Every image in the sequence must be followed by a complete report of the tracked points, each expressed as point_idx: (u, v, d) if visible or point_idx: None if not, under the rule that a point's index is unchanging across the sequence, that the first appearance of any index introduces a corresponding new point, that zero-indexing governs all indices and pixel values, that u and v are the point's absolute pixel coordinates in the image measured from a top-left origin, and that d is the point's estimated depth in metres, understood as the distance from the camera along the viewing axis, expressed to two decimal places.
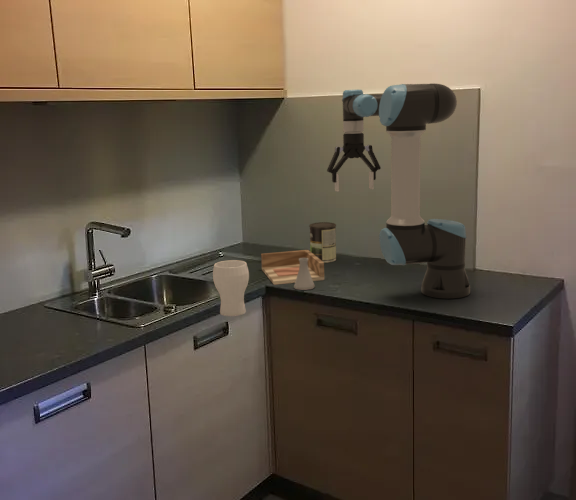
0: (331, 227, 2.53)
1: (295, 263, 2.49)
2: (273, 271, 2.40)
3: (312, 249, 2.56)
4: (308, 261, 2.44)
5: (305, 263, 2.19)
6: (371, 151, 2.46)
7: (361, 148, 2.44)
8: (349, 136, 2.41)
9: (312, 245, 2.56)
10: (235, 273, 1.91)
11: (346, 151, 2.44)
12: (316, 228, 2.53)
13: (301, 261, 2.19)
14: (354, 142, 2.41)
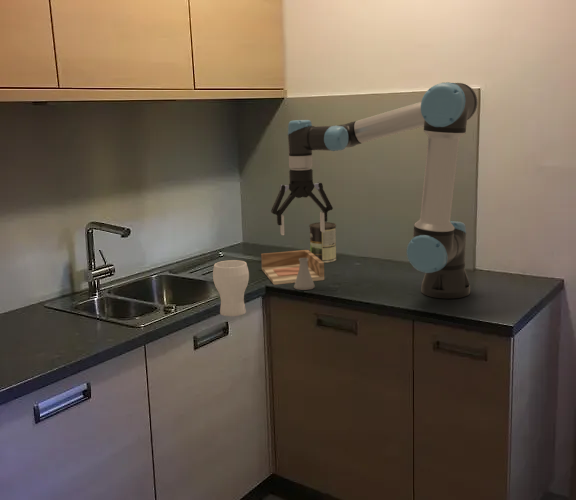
0: (331, 227, 2.53)
1: (295, 263, 2.49)
2: (273, 271, 2.40)
3: (312, 249, 2.56)
4: (308, 261, 2.44)
5: (305, 263, 2.19)
6: (321, 189, 2.15)
7: (310, 186, 2.14)
8: (295, 173, 2.10)
9: (312, 245, 2.56)
10: (235, 273, 1.91)
11: (292, 190, 2.13)
12: (316, 228, 2.53)
13: (301, 261, 2.19)
14: (301, 180, 2.11)
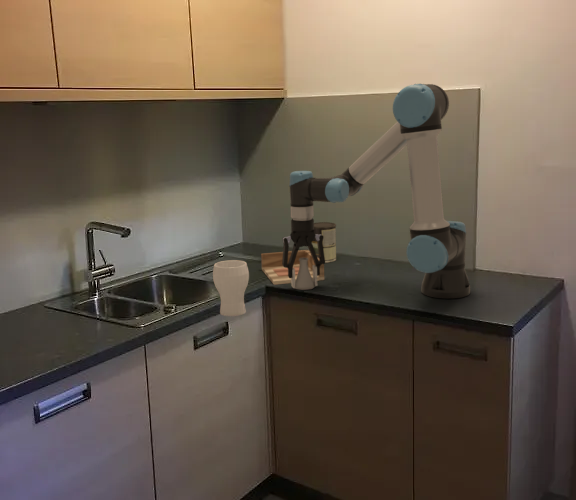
0: (331, 227, 2.53)
1: (295, 263, 2.49)
2: (273, 271, 2.40)
3: None
4: (308, 261, 2.44)
5: (305, 263, 2.19)
6: (321, 242, 2.19)
7: (311, 235, 2.18)
8: (297, 224, 2.14)
9: None
10: (235, 273, 1.91)
11: (294, 239, 2.17)
12: (316, 228, 2.53)
13: (301, 261, 2.19)
14: (302, 230, 2.14)
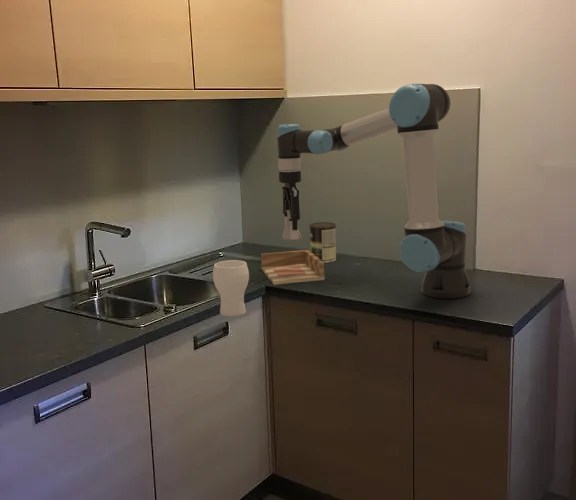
0: (331, 227, 2.53)
1: (295, 263, 2.49)
2: (273, 271, 2.40)
3: (312, 249, 2.56)
4: (308, 261, 2.44)
5: (287, 214, 2.27)
6: (291, 197, 2.20)
7: (289, 188, 2.22)
8: None
9: (312, 245, 2.56)
10: (235, 273, 1.91)
11: None
12: (316, 228, 2.53)
13: None
14: (279, 180, 2.25)
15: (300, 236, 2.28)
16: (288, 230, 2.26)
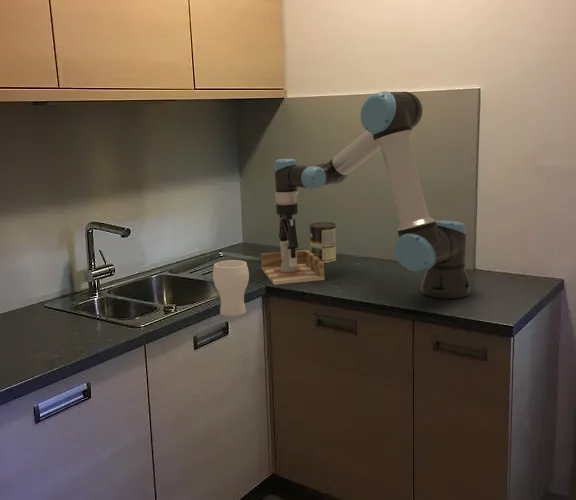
0: (331, 227, 2.53)
1: None
2: (273, 271, 2.40)
3: (312, 249, 2.56)
4: (308, 261, 2.44)
5: (285, 248, 2.36)
6: (288, 226, 2.28)
7: (286, 220, 2.32)
8: None
9: (312, 245, 2.56)
10: (235, 273, 1.91)
11: None
12: (316, 228, 2.53)
13: None
14: (276, 212, 2.34)
15: (297, 269, 2.37)
16: (285, 263, 2.36)
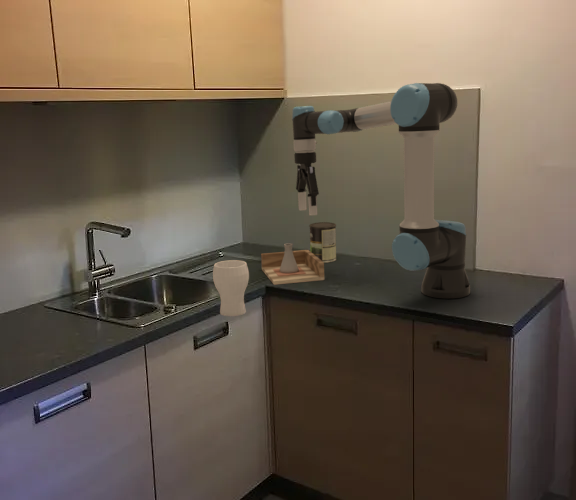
0: (331, 227, 2.53)
1: None
2: (273, 271, 2.40)
3: (312, 249, 2.56)
4: (308, 261, 2.44)
5: (285, 248, 2.36)
6: (307, 174, 2.23)
7: (304, 169, 2.27)
8: None
9: (312, 245, 2.56)
10: (235, 273, 1.91)
11: None
12: (316, 228, 2.53)
13: None
14: None
15: (297, 269, 2.37)
16: (285, 263, 2.36)
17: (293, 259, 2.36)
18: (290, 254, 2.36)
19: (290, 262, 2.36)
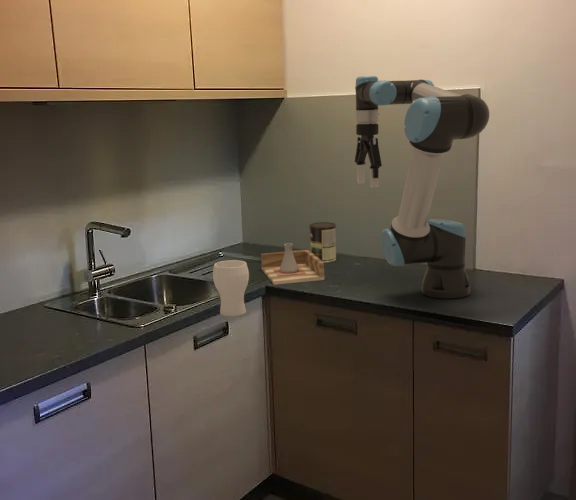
0: (331, 227, 2.53)
1: None
2: (273, 271, 2.40)
3: (312, 249, 2.56)
4: (308, 261, 2.44)
5: (285, 248, 2.36)
6: (370, 145, 2.20)
7: (367, 141, 2.23)
8: None
9: (312, 245, 2.56)
10: (235, 273, 1.91)
11: None
12: (316, 228, 2.53)
13: None
14: (356, 133, 2.25)
15: (297, 269, 2.37)
16: (285, 263, 2.36)
17: (293, 259, 2.36)
18: (290, 254, 2.36)
19: (290, 262, 2.36)
